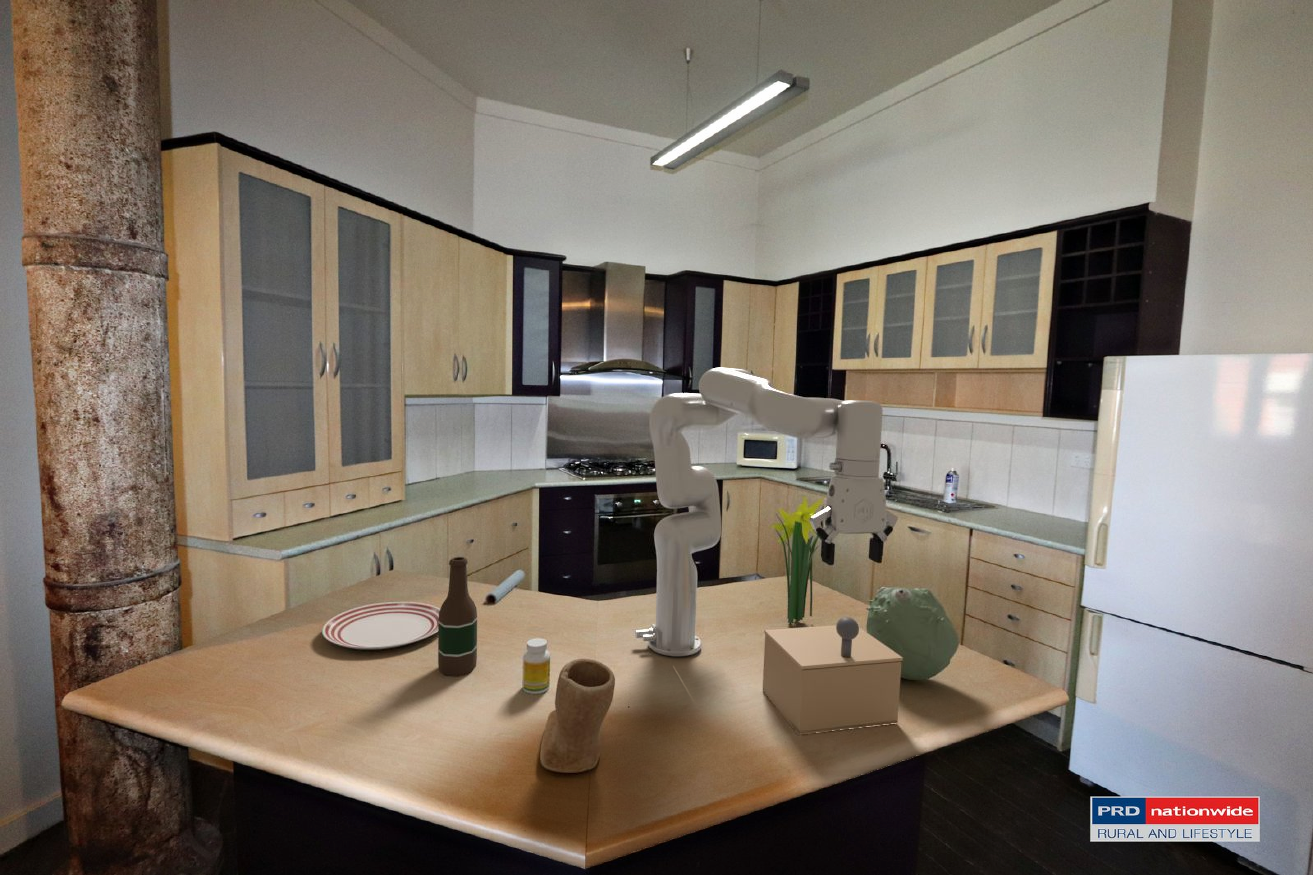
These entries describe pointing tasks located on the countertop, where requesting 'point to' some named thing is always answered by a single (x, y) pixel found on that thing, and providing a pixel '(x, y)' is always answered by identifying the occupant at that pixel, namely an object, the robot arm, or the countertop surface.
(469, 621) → the beer bottle
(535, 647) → the supplement bottle
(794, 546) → the daffodil flowers
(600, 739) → the brown boot
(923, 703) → the countertop surface
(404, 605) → the dinner plate
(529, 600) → the countertop surface
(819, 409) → the robot arm
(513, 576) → the aluminum foil
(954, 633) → the green lumpy rounded blob
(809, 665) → the lid
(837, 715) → the carton
